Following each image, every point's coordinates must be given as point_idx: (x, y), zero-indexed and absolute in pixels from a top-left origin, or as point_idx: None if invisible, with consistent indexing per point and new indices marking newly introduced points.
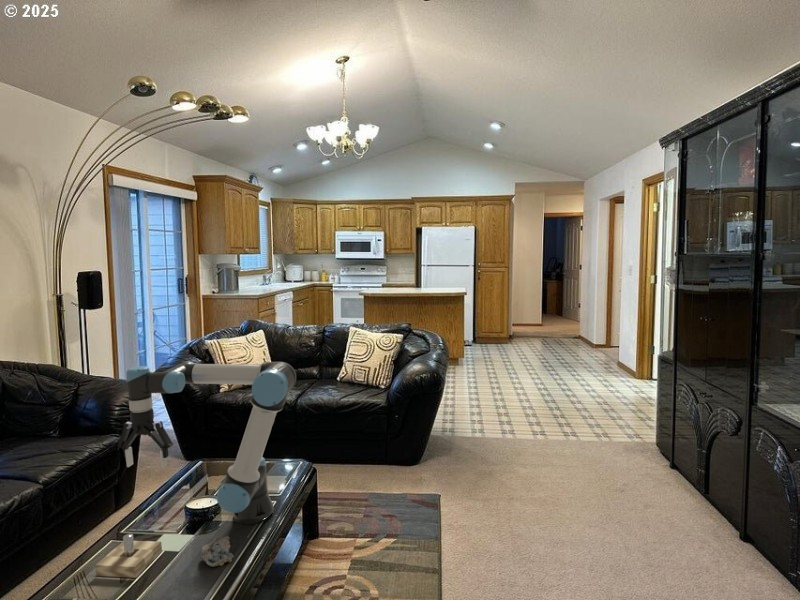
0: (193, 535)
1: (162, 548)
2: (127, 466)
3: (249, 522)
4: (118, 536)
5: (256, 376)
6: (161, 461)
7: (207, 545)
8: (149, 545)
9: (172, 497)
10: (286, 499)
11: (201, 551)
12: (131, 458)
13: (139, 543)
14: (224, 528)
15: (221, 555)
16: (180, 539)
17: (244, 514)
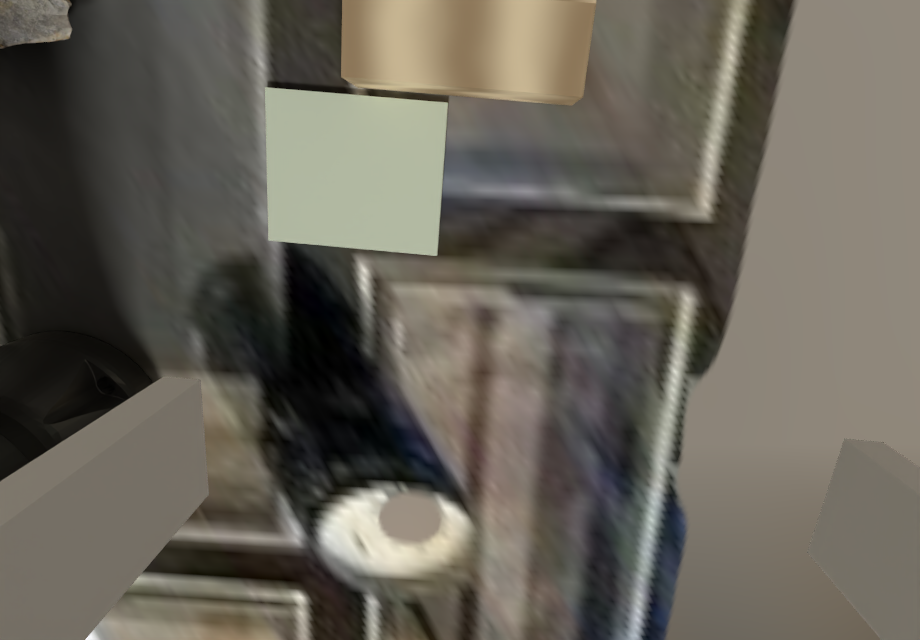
0: (271, 236)
1: (369, 115)
2: (877, 448)
3: (39, 334)
4: (685, 248)
5: None
6: (104, 434)
7: (20, 12)
8: (390, 34)
9: (576, 588)
10: None
11: (68, 1)
12: (912, 622)
13: (466, 58)
14: (156, 304)
15: None
16: (319, 200)
17: (31, 354)
